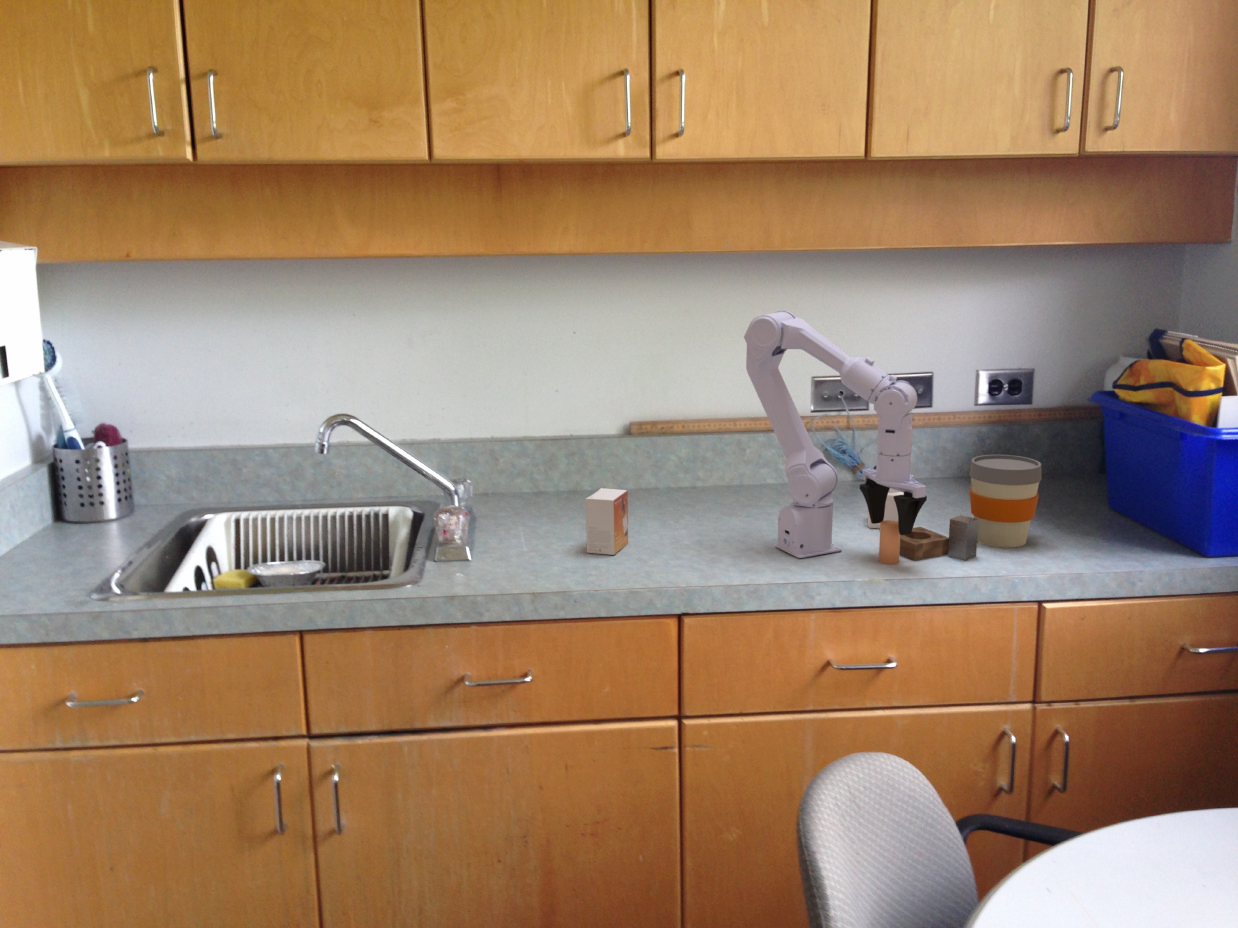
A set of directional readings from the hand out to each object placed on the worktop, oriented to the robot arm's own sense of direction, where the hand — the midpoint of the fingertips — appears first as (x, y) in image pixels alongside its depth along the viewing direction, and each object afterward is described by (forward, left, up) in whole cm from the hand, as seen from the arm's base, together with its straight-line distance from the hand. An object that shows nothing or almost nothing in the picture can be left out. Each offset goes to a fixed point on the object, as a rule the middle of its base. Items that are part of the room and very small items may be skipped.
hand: (890, 528), depth 181 cm
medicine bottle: (+14, +18, -6) cm, 24 cm away
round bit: (0, 0, -6) cm, 6 cm away
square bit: (+13, -4, -6) cm, 15 cm away
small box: (-41, +30, -6) cm, 51 cm away
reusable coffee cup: (+26, 0, -6) cm, 27 cm away
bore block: (+8, +2, -6) cm, 10 cm away
